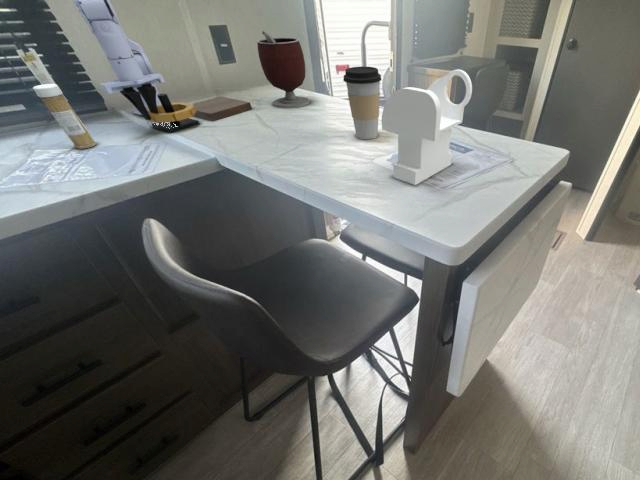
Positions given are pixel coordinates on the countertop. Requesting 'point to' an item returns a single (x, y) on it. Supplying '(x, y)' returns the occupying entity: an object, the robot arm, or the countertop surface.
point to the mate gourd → (283, 67)
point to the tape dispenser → (424, 127)
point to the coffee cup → (364, 99)
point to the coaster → (220, 108)
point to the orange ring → (173, 113)
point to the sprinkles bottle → (64, 115)
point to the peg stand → (181, 123)
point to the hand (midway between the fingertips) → (152, 118)
